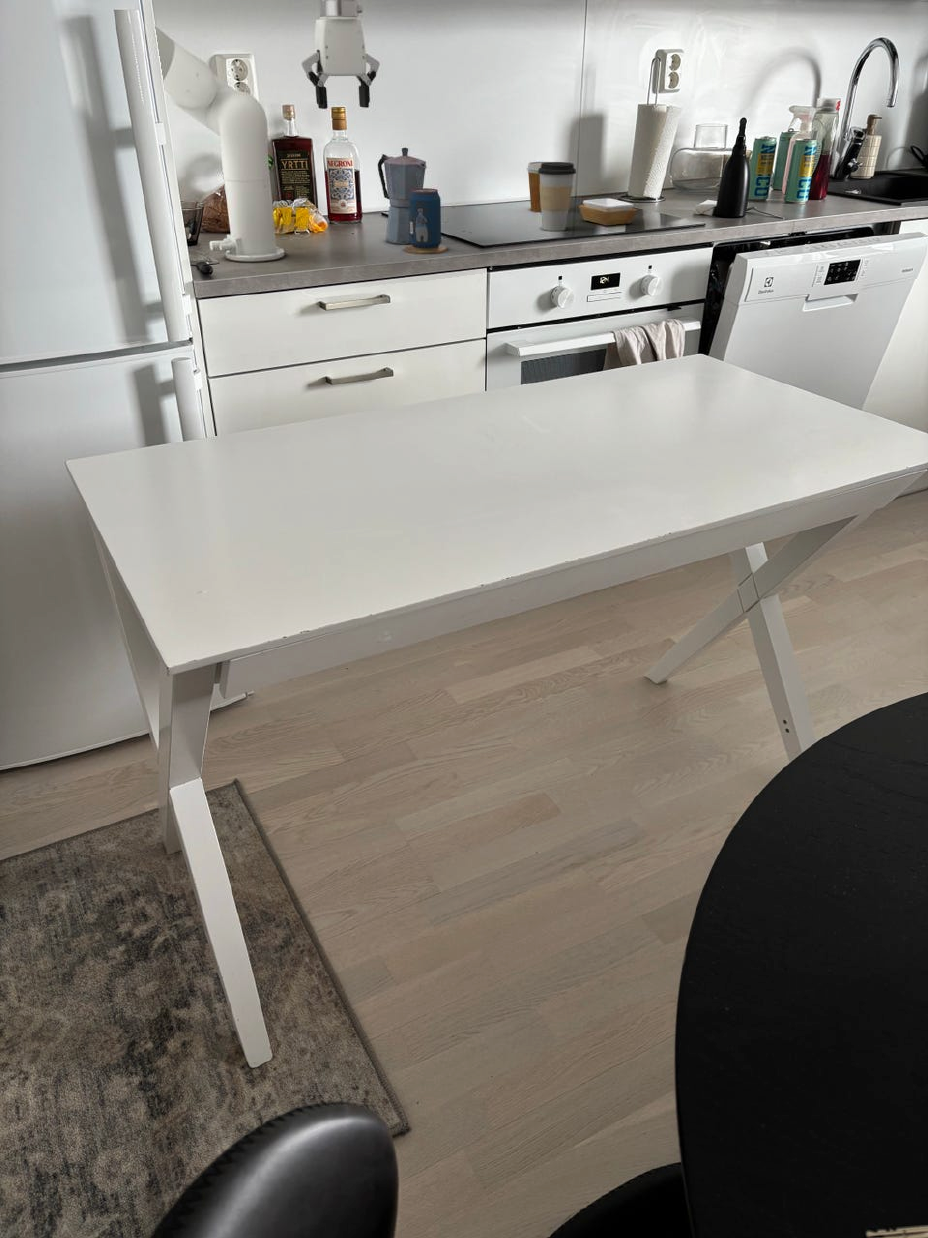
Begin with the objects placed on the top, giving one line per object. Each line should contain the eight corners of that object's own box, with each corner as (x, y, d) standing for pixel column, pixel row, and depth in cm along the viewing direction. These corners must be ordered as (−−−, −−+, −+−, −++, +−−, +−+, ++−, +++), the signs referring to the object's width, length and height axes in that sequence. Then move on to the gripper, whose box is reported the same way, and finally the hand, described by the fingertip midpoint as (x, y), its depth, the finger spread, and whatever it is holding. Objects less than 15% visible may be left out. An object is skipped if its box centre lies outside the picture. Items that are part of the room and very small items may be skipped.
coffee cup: (527, 228, 235) (530, 163, 227) (551, 224, 241) (554, 160, 233) (557, 233, 230) (560, 166, 222) (580, 228, 236) (584, 163, 228)
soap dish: (577, 220, 247) (578, 199, 244) (607, 217, 251) (608, 197, 248) (606, 227, 238) (607, 205, 235) (636, 224, 242) (638, 203, 239)
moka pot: (415, 247, 213) (412, 150, 203) (365, 240, 221) (360, 146, 211) (441, 241, 220) (439, 147, 209) (391, 234, 228) (388, 143, 217)
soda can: (436, 243, 214) (435, 187, 208) (445, 249, 209) (444, 191, 203) (407, 245, 213) (405, 188, 206) (415, 251, 207) (413, 192, 201)
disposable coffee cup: (526, 207, 267) (528, 160, 260) (559, 208, 266) (562, 161, 259) (523, 212, 259) (525, 164, 252) (558, 213, 258) (560, 165, 251)
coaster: (418, 255, 206) (418, 252, 205) (398, 248, 212) (398, 246, 212) (453, 251, 210) (453, 248, 210) (433, 244, 216) (433, 242, 216)
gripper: (368, 12, 194) (372, 105, 203) (291, 10, 186) (298, 108, 195) (384, 11, 189) (388, 107, 198) (306, 9, 181) (313, 109, 190)
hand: (343, 107), depth 197 cm, fingers open, 9 cm apart
